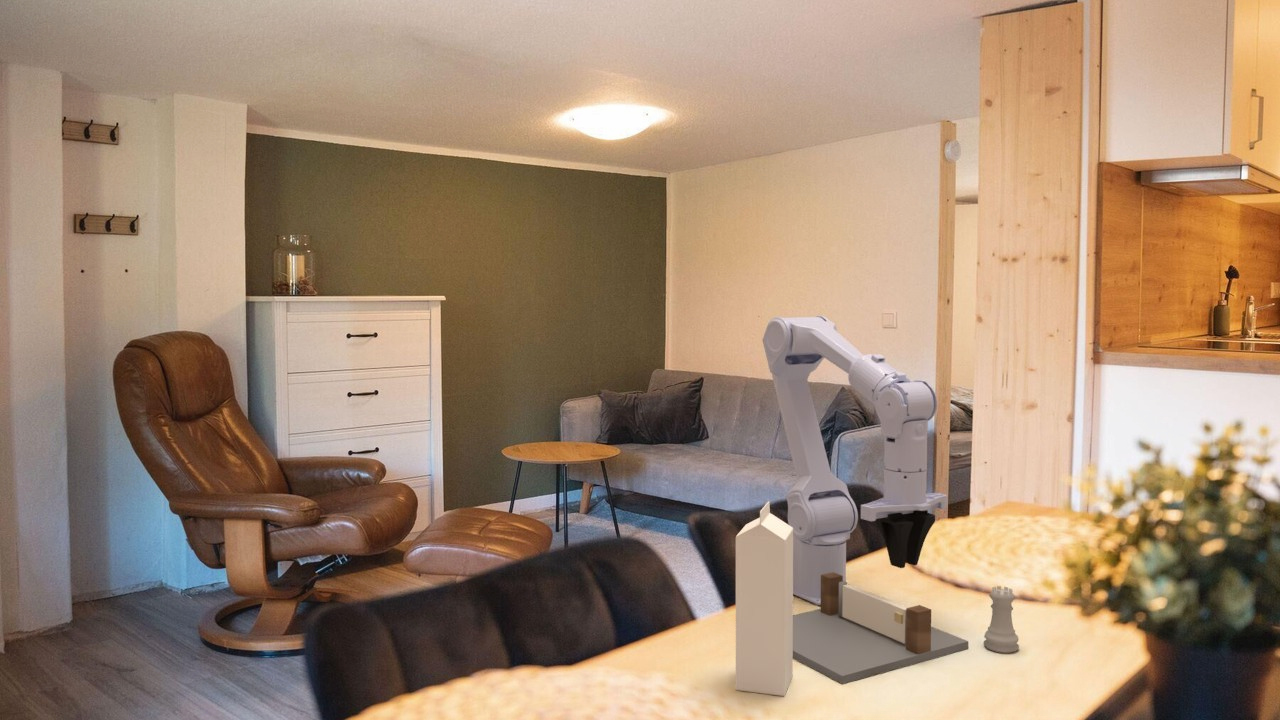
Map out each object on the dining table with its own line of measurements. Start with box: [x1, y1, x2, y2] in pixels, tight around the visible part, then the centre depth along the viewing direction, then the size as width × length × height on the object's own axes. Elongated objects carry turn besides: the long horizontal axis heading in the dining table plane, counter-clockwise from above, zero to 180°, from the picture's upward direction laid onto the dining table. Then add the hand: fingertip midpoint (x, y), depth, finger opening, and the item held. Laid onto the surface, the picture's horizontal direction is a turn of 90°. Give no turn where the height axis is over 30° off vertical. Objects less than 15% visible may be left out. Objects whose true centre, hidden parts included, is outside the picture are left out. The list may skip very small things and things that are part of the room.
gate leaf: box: [838, 581, 909, 644], centre depth 131 cm, size 13×2×5 cm, turn 30°
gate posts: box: [820, 572, 932, 654], centre depth 131 cm, size 19×2×6 cm, turn 30°
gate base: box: [793, 608, 969, 685], centre depth 130 cm, size 20×22×1 cm
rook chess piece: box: [983, 585, 1020, 654], centre depth 127 cm, size 4×4×8 cm
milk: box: [735, 500, 794, 697], centre depth 115 cm, size 6×6×22 cm
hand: (903, 564), depth 133 cm, fingers closed
